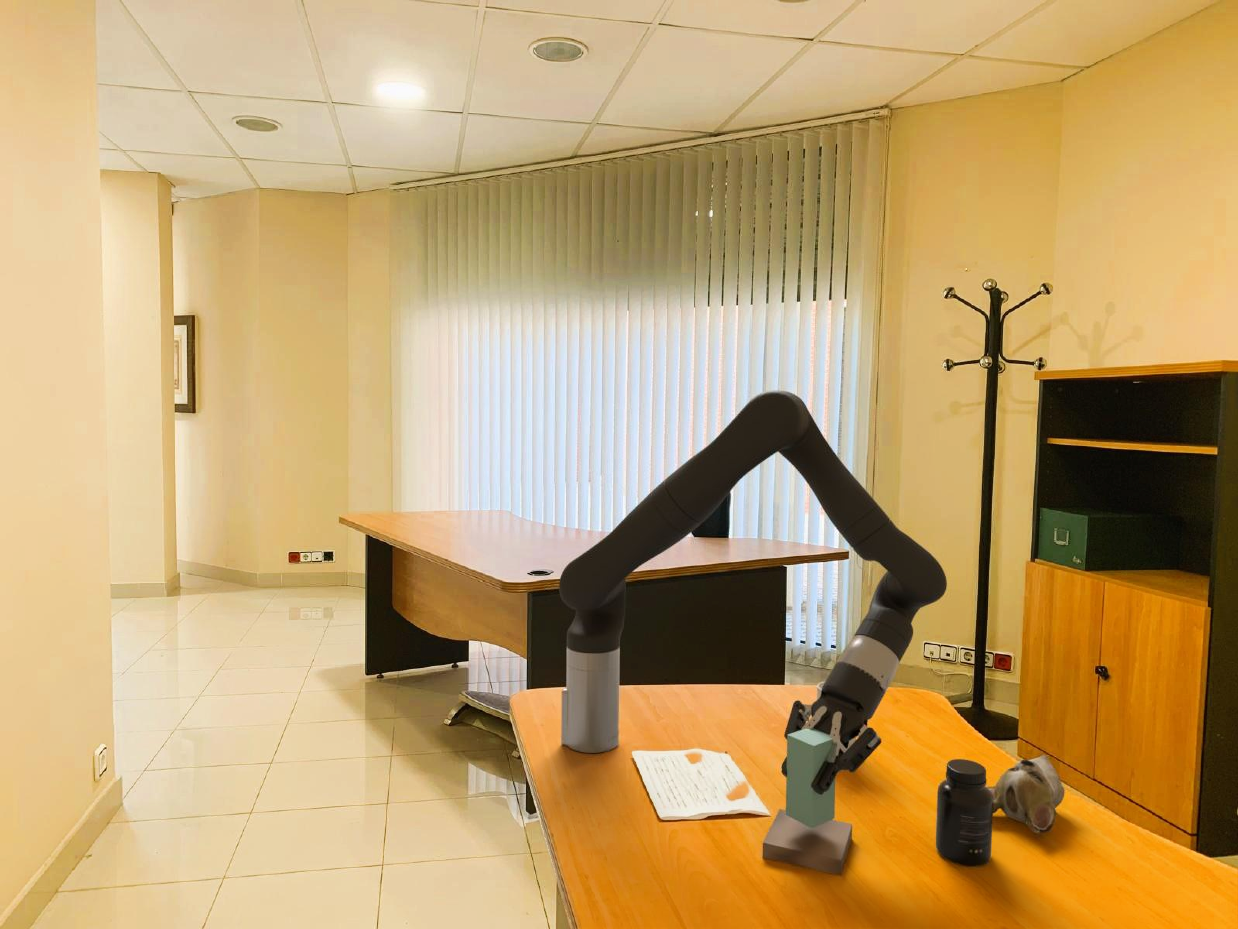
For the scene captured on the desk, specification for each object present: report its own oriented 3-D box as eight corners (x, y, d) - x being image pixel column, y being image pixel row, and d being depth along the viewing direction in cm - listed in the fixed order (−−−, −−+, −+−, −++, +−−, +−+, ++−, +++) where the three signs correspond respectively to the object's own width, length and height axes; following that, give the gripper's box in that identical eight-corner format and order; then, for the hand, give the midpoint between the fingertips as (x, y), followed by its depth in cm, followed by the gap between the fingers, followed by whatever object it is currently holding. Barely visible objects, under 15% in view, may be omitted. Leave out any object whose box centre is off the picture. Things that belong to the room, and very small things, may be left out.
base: (762, 857, 107) (762, 842, 107) (779, 822, 116) (779, 809, 116) (840, 875, 103) (841, 860, 103) (851, 838, 112) (852, 824, 112)
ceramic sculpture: (1084, 755, 119) (1044, 793, 109) (1083, 812, 120) (1043, 855, 110) (1008, 734, 127) (965, 768, 117) (1008, 788, 128) (965, 825, 118)
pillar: (785, 814, 110) (787, 734, 109) (808, 805, 113) (809, 727, 112) (811, 828, 107) (813, 746, 106) (834, 818, 109) (836, 737, 108)
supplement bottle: (926, 841, 112) (929, 755, 111) (974, 840, 112) (977, 754, 112) (950, 869, 105) (954, 778, 104) (1001, 867, 106) (1005, 777, 105)
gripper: (808, 649, 118) (747, 750, 112) (894, 675, 107) (831, 790, 101) (831, 678, 122) (773, 778, 116) (916, 706, 111) (857, 819, 104)
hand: (801, 783), depth 108 cm, fingers closed on pillar, 4 cm apart
